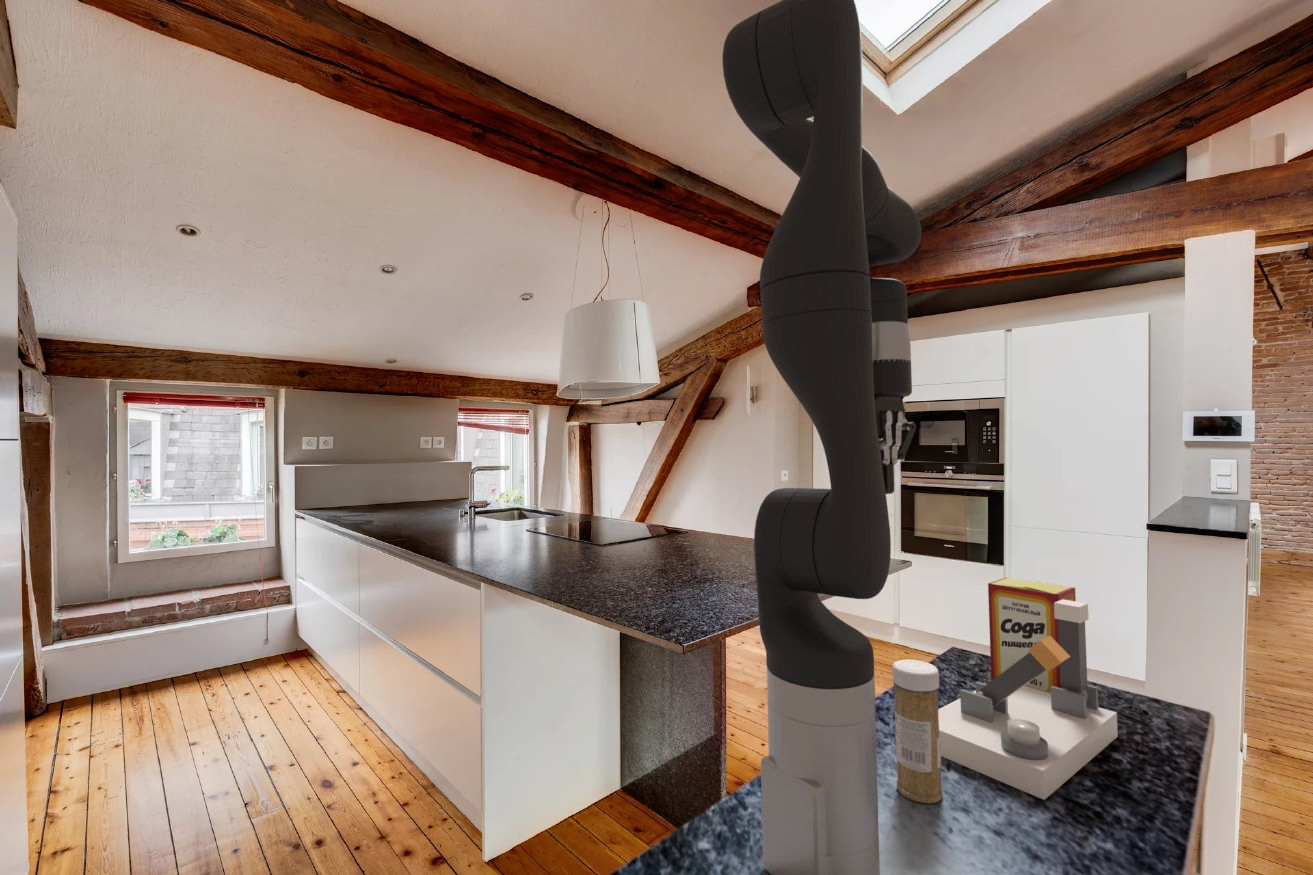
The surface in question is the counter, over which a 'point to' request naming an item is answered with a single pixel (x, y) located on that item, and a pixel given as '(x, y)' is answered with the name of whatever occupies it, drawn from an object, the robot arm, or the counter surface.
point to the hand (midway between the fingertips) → (883, 493)
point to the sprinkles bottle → (917, 730)
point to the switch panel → (1052, 729)
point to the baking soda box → (1023, 624)
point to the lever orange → (1025, 670)
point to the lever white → (1073, 644)
